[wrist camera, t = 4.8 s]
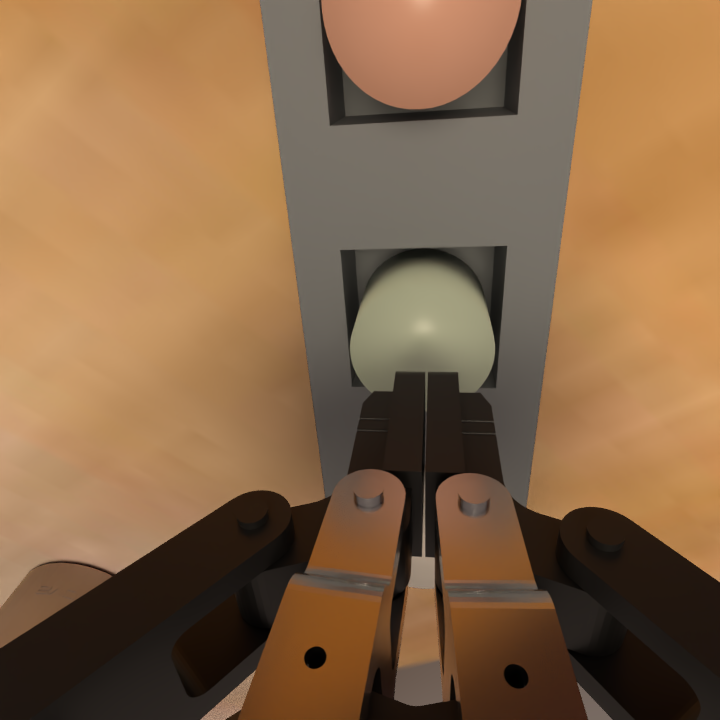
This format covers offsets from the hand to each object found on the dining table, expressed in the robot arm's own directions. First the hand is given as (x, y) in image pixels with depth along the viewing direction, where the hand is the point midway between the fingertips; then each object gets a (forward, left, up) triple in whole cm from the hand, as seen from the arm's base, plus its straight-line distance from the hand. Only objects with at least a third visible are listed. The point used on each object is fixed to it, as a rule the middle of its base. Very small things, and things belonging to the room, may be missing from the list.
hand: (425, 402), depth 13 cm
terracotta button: (+8, +3, -6) cm, 10 cm away
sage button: (0, 0, -6) cm, 6 cm away
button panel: (0, 0, -9) cm, 9 cm away
